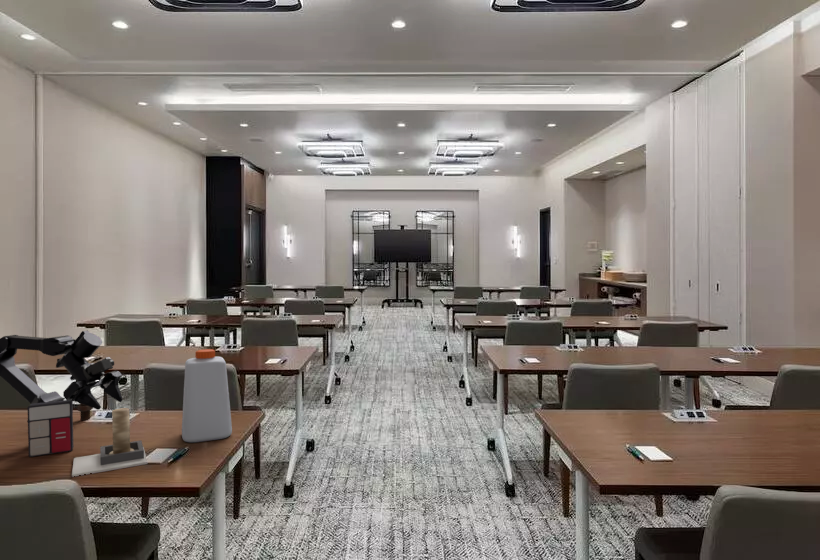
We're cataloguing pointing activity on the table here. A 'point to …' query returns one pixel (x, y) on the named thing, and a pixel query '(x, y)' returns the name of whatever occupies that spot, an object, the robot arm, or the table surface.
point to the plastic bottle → (206, 398)
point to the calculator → (50, 427)
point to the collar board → (109, 460)
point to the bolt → (84, 411)
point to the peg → (121, 431)
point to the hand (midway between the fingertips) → (111, 404)
